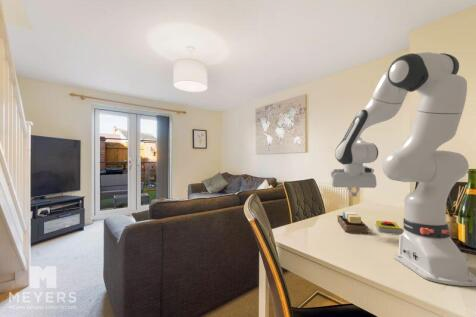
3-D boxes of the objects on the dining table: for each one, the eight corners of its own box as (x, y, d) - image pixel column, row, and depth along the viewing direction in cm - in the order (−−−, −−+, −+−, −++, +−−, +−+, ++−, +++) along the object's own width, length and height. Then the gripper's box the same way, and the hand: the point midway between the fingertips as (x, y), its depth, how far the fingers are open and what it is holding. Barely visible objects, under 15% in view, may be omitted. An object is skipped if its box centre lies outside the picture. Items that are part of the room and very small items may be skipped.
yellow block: (361, 225, 108) (360, 217, 108) (350, 224, 109) (349, 216, 109) (358, 222, 112) (358, 215, 112) (347, 222, 113) (347, 214, 113)
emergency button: (378, 224, 107) (374, 217, 120) (378, 233, 107) (375, 225, 120) (401, 227, 103) (395, 218, 116) (401, 236, 103) (395, 227, 116)
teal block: (354, 221, 120) (354, 214, 120) (344, 221, 121) (344, 213, 121) (352, 219, 124) (352, 212, 124) (342, 218, 125) (342, 212, 125)
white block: (357, 221, 114) (357, 214, 114) (347, 221, 115) (347, 213, 115) (355, 219, 118) (355, 212, 118) (345, 219, 119) (345, 211, 119)
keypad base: (368, 233, 106) (368, 226, 106) (345, 232, 108) (345, 225, 108) (356, 222, 125) (356, 216, 125) (337, 221, 127) (337, 215, 127)
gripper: (332, 169, 110) (332, 196, 110) (377, 169, 105) (378, 197, 105) (330, 168, 116) (330, 194, 117) (372, 168, 111) (373, 195, 112)
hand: (353, 196), depth 111 cm, fingers closed
